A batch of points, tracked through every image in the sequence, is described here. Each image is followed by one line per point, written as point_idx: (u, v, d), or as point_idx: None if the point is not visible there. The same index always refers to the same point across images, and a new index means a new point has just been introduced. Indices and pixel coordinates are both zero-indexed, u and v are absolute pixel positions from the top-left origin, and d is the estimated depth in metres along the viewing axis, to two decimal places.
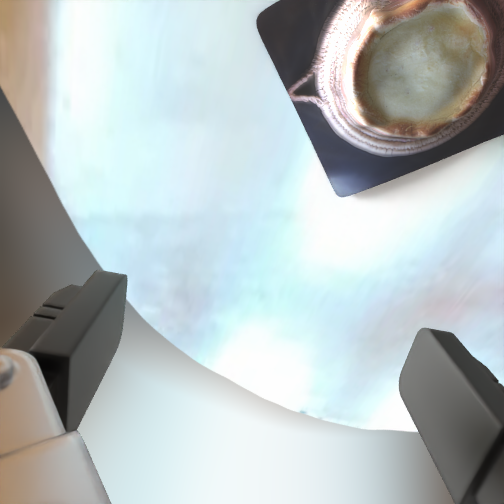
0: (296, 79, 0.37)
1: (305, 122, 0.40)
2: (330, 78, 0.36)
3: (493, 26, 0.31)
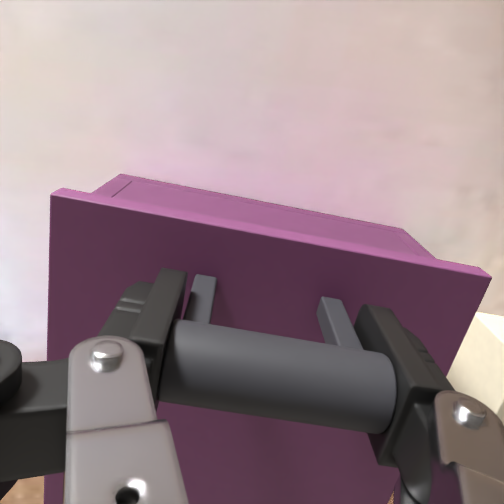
0: None
1: None
2: None
3: None
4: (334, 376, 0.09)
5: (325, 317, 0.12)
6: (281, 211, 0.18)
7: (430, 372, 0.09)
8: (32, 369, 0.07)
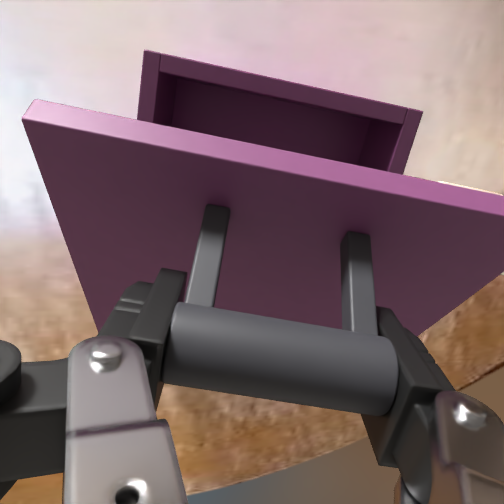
0: None
1: None
2: None
3: None
4: (333, 382, 0.09)
5: (346, 265, 0.11)
6: None
7: (431, 372, 0.09)
8: (32, 369, 0.07)
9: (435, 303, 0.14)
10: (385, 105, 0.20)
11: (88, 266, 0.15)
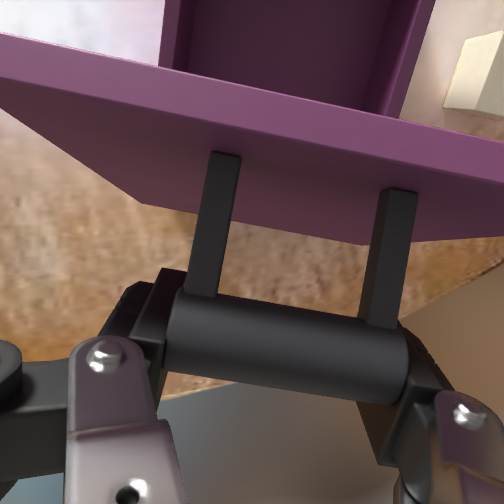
0: None
1: None
2: None
3: None
4: (334, 388, 0.08)
5: (379, 235, 0.09)
6: None
7: (430, 372, 0.09)
8: (32, 369, 0.07)
9: (485, 231, 0.12)
10: None
11: (92, 162, 0.13)
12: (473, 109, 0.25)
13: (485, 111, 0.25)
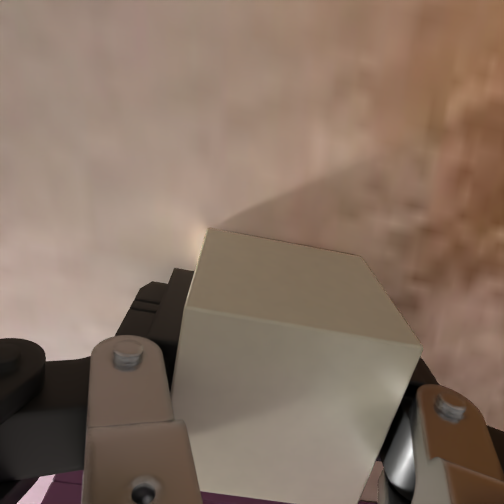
0: None
1: None
2: None
3: None
4: None
5: None
6: None
7: None
8: (54, 368, 0.07)
9: None
10: None
11: None
12: None
13: (361, 490, 0.09)
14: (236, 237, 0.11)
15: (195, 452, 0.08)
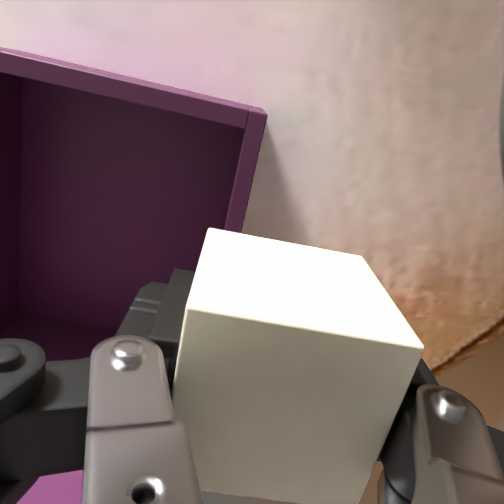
0: None
1: None
2: None
3: None
4: None
5: None
6: (149, 82, 0.21)
7: None
8: (54, 368, 0.07)
9: None
10: (222, 106, 0.17)
11: None
12: None
13: (363, 490, 0.09)
14: (236, 237, 0.11)
15: (196, 452, 0.08)
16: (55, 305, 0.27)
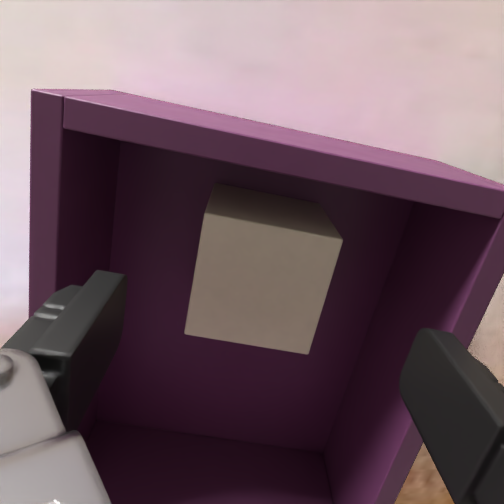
0: None
1: None
2: None
3: None
4: None
5: None
6: (299, 132, 0.15)
7: None
8: None
9: None
10: (473, 188, 0.11)
11: None
12: None
13: (312, 338, 0.14)
14: (233, 188, 0.16)
15: (208, 310, 0.14)
16: (144, 410, 0.21)
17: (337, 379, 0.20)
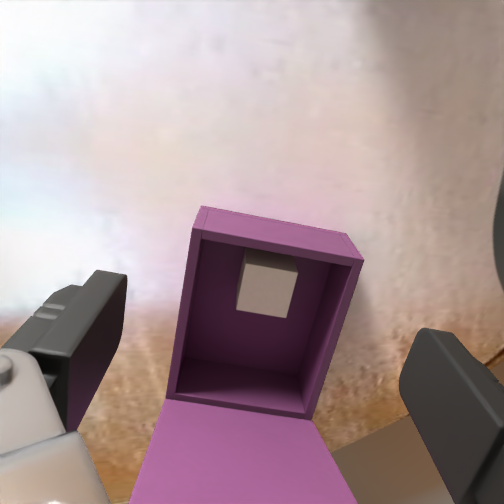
0: None
1: None
2: None
3: None
4: None
5: None
6: (282, 224, 0.36)
7: None
8: None
9: None
10: (340, 256, 0.32)
11: None
12: (285, 316, 0.35)
13: (287, 311, 0.35)
14: None
15: (246, 300, 0.34)
16: (208, 351, 0.41)
17: (303, 335, 0.41)
